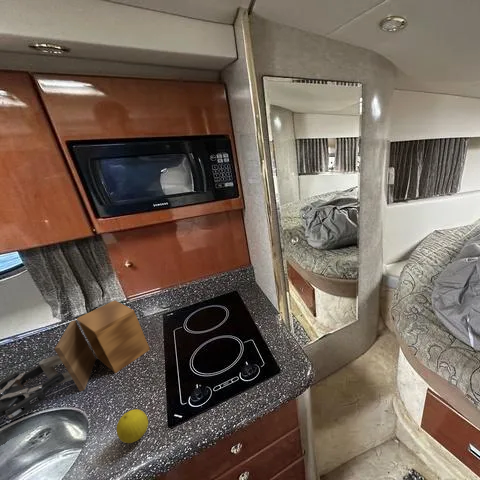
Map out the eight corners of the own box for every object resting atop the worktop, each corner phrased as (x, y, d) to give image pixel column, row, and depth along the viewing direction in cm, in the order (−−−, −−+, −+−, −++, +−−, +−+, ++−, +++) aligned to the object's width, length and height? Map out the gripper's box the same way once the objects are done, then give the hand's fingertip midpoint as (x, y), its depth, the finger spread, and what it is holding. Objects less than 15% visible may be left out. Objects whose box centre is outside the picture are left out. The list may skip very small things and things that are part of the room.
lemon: (150, 419, 61) (139, 397, 58) (154, 437, 57) (143, 414, 54) (122, 436, 58) (109, 414, 55) (125, 457, 54) (112, 434, 51)
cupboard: (115, 373, 74) (94, 331, 68) (97, 358, 80) (76, 318, 74) (150, 349, 82) (134, 310, 76) (131, 337, 88) (114, 300, 81)
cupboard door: (56, 400, 67) (27, 357, 61) (72, 367, 77) (48, 327, 71) (84, 389, 69) (59, 347, 63) (96, 359, 79) (75, 319, 73)
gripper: (-43, 434, 49) (62, 368, 63) (-65, 406, 55) (36, 351, 68) (-22, 456, 52) (74, 389, 65) (-44, 428, 57) (48, 371, 71)
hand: (54, 370), depth 67 cm, fingers open, 8 cm apart
